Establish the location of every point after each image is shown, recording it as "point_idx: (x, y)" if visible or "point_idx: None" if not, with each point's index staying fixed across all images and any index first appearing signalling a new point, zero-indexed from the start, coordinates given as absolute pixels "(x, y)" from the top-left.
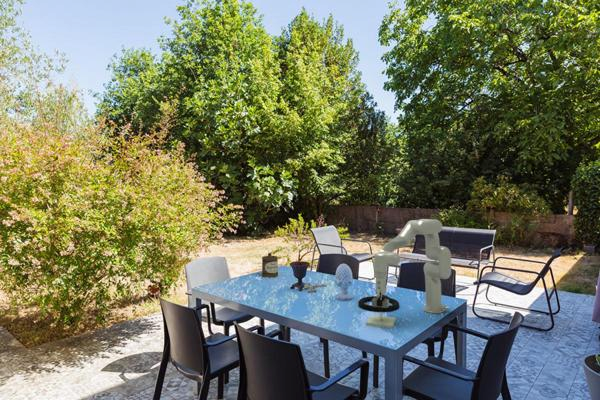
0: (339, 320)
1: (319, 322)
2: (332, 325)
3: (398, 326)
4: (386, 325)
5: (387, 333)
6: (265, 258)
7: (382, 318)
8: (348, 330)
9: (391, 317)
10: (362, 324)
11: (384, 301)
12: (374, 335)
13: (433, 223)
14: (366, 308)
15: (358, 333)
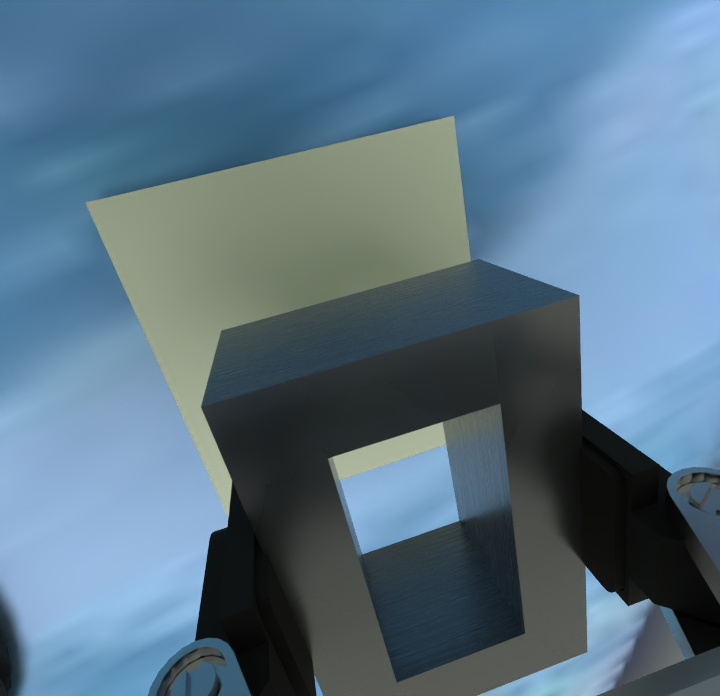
0: None
1: (566, 671)
2: (590, 589)
3: (329, 62)
4: (461, 200)
5: (622, 108)
6: None
7: None
8: (651, 454)
9: (122, 270)
10: None
11: (565, 391)
12: (706, 214)
13: None
14: (3, 682)
15: (693, 359)
